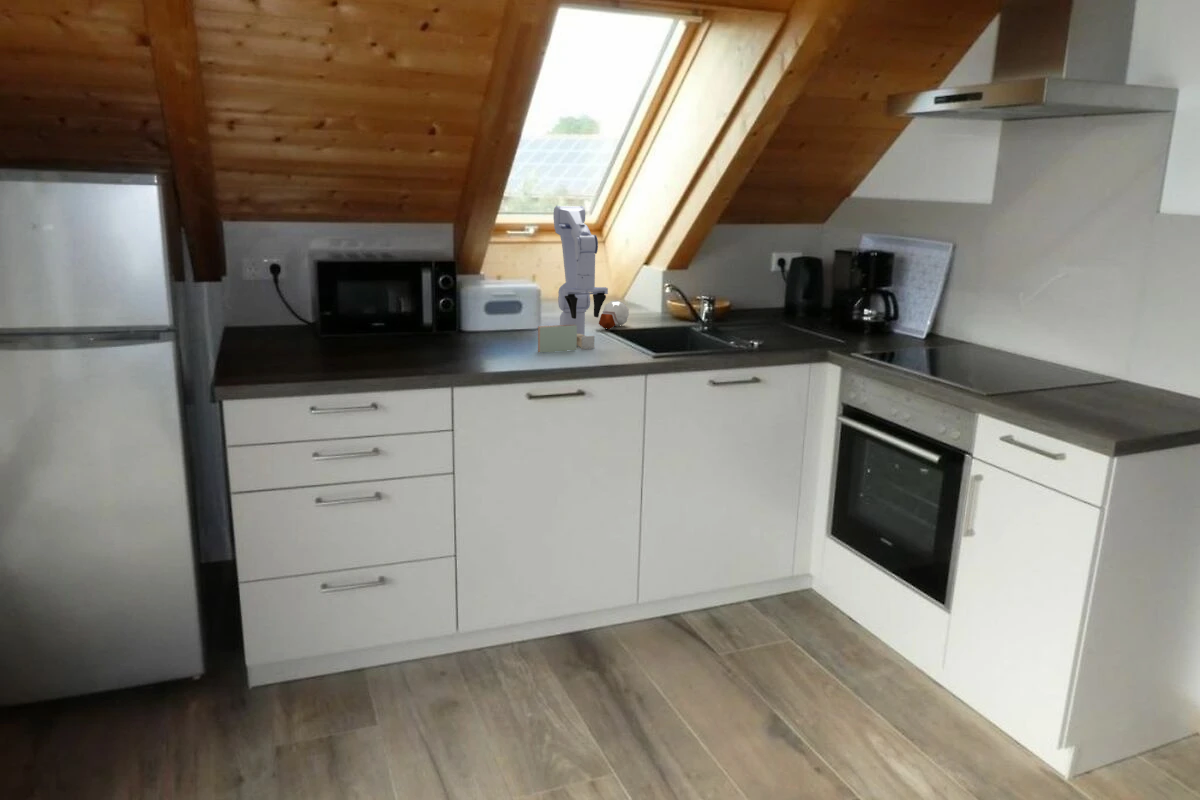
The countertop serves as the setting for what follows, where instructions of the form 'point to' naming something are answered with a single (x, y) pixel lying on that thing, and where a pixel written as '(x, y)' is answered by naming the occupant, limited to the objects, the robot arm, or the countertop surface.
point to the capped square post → (585, 341)
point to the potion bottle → (614, 314)
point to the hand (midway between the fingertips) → (585, 317)
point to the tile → (557, 338)
